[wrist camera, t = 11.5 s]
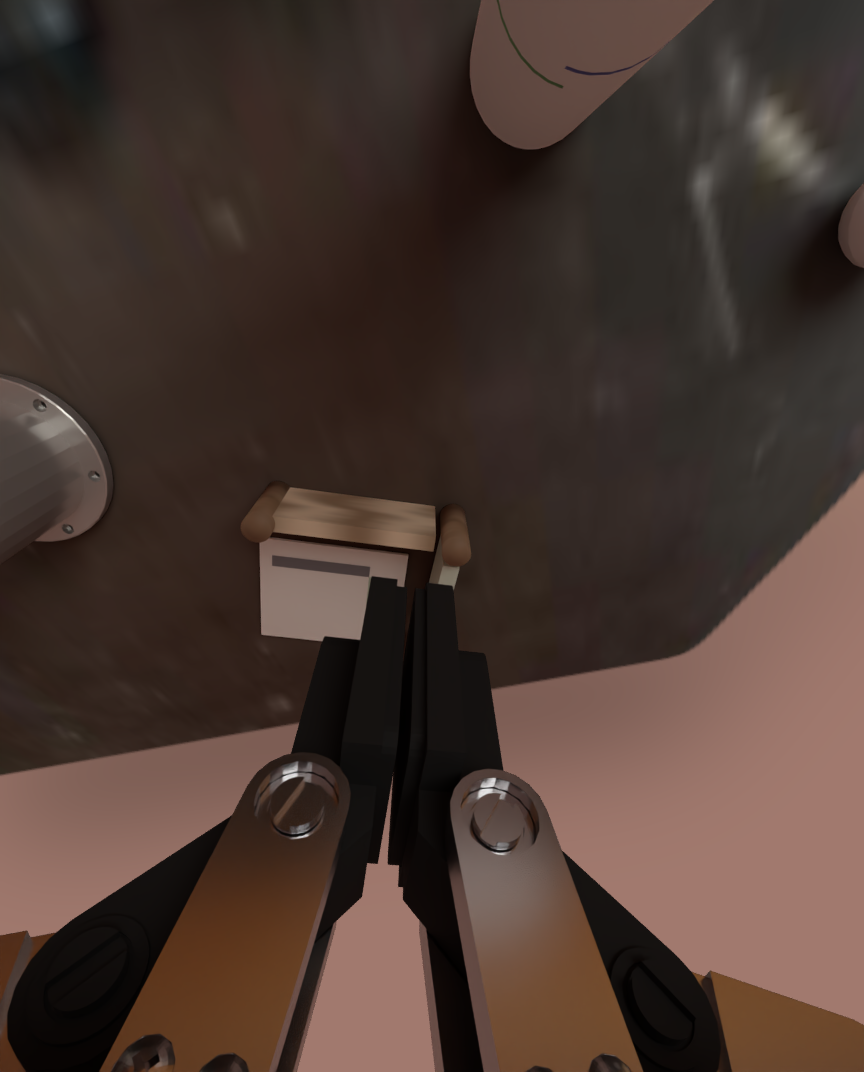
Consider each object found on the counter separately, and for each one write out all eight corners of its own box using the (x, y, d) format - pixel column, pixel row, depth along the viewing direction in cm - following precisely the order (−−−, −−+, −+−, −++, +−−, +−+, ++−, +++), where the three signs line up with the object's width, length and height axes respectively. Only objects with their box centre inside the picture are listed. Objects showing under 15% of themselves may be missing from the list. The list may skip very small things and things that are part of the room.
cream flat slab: (437, 531, 40) (438, 564, 35) (459, 535, 40) (463, 568, 35) (409, 648, 45) (407, 690, 41) (428, 651, 46) (428, 693, 41)
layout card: (262, 632, 45) (261, 634, 44) (260, 535, 40) (259, 538, 40) (395, 646, 46) (394, 649, 45) (408, 553, 41) (408, 556, 41)
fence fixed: (266, 503, 39) (241, 540, 33) (266, 479, 38) (240, 514, 32) (462, 528, 40) (468, 568, 35) (467, 505, 39) (473, 543, 34)
